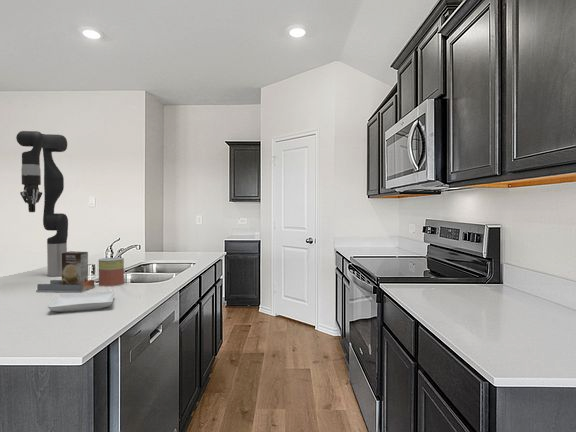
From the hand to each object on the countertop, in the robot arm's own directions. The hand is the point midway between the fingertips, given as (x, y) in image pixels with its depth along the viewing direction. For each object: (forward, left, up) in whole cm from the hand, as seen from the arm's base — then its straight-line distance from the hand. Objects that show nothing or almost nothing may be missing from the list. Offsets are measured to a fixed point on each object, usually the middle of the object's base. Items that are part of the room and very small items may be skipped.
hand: (31, 212), depth 192 cm
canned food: (-8, +33, -35) cm, 49 cm away
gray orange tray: (+6, +19, -35) cm, 40 cm away
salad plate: (+34, +42, -35) cm, 65 cm away
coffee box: (+6, +23, -34) cm, 42 cm away
